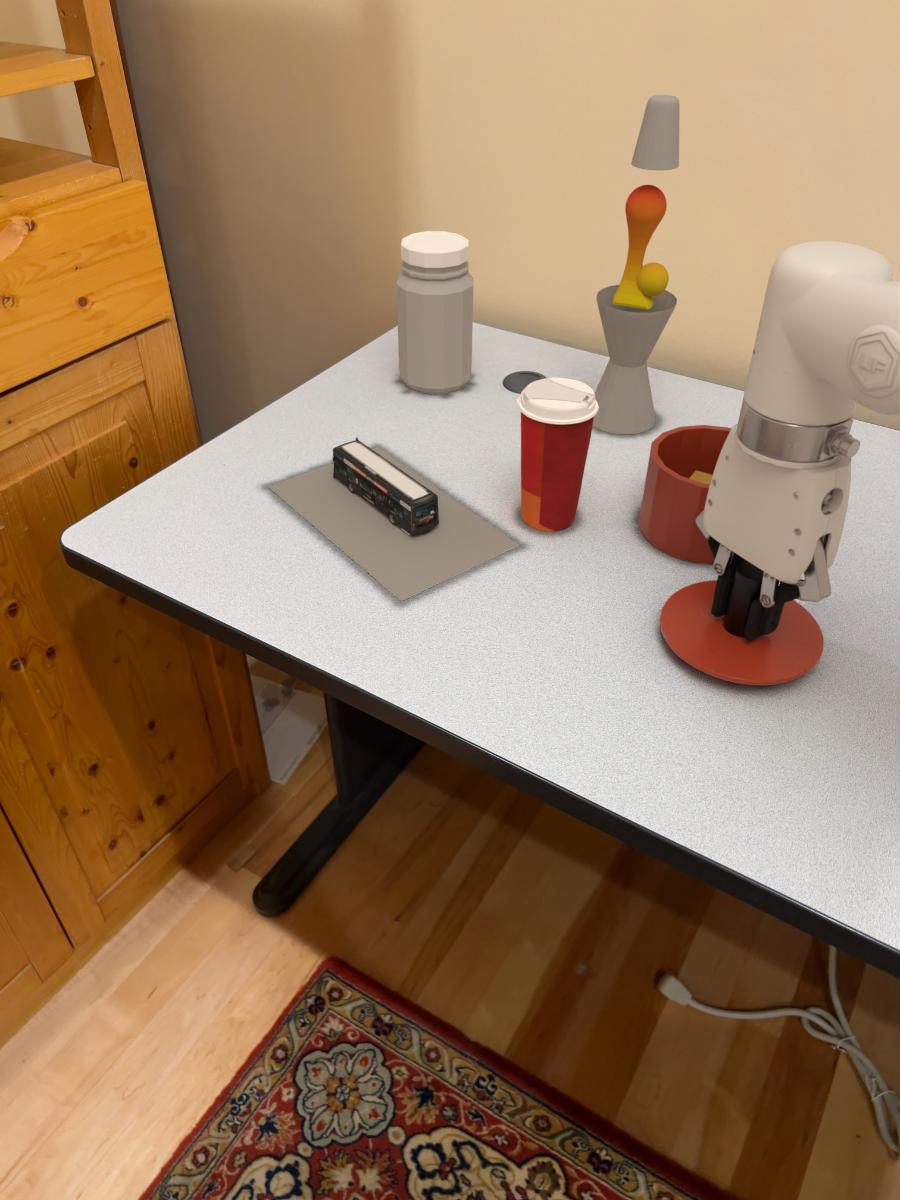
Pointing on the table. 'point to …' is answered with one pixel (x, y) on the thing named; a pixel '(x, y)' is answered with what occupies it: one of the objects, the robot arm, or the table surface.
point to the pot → (680, 490)
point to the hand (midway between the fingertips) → (742, 620)
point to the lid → (740, 633)
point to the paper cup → (554, 449)
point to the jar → (435, 312)
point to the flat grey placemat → (391, 519)
